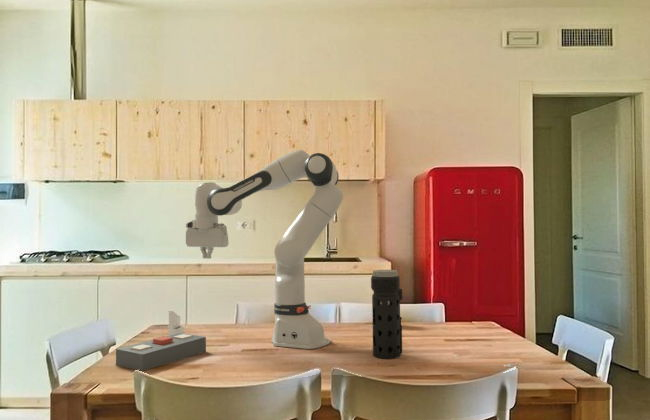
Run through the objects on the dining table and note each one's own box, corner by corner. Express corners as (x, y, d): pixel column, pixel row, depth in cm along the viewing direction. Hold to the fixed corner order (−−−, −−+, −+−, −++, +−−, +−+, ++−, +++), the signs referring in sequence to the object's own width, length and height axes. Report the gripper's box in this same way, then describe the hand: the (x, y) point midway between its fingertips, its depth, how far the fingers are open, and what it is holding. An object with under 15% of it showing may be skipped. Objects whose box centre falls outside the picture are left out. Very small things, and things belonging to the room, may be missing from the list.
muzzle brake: (398, 350, 170) (368, 352, 168) (397, 269, 170) (367, 269, 169) (407, 358, 160) (376, 360, 159) (405, 271, 161) (375, 272, 159)
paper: (529, 357, 162) (529, 353, 162) (547, 373, 145) (547, 369, 145) (451, 356, 164) (451, 352, 164) (460, 371, 147) (460, 368, 147)
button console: (205, 351, 172) (205, 337, 172) (142, 371, 150) (142, 354, 150) (180, 346, 179) (180, 332, 179) (115, 364, 157) (115, 348, 157)
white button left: (151, 361, 158) (151, 346, 158) (139, 365, 154) (139, 349, 154) (142, 359, 160) (142, 344, 160) (130, 363, 156) (130, 347, 157)
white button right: (192, 349, 172) (192, 335, 172) (182, 352, 168) (182, 338, 169) (183, 348, 174) (183, 334, 175) (173, 351, 171) (173, 336, 171)
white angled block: (163, 333, 190) (168, 311, 195) (174, 340, 199) (179, 319, 203) (171, 333, 190) (177, 311, 194) (182, 341, 198) (187, 320, 202)
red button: (172, 352, 165) (172, 337, 165) (162, 355, 161) (161, 340, 161) (163, 351, 167) (163, 336, 167) (153, 354, 164) (153, 338, 164)
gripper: (231, 223, 194) (232, 258, 193) (194, 223, 204) (194, 257, 204) (220, 223, 188) (220, 259, 188) (182, 223, 199) (183, 258, 199)
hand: (207, 258), depth 196 cm, fingers closed
